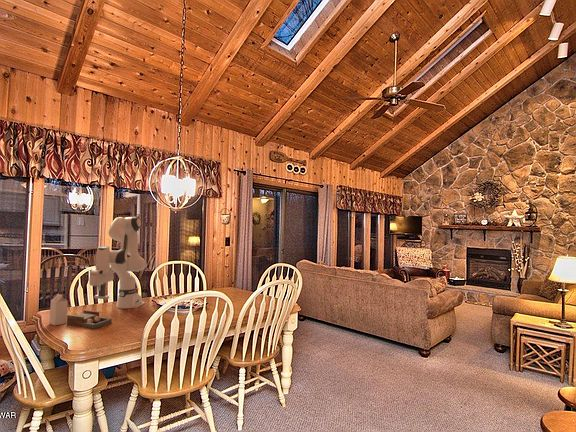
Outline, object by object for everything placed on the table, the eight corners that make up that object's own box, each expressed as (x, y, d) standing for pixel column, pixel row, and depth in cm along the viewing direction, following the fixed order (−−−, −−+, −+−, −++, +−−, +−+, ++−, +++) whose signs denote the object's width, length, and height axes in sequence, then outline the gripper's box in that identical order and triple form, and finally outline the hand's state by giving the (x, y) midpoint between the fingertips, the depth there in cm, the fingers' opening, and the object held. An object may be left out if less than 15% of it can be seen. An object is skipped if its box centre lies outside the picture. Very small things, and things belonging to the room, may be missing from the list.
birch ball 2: (102, 317, 230) (100, 322, 231) (98, 314, 231) (95, 318, 231) (98, 319, 226) (95, 324, 227) (93, 316, 227) (91, 320, 227)
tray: (98, 321, 233) (99, 317, 233) (111, 323, 231) (111, 318, 231) (81, 327, 220) (82, 322, 220) (94, 329, 217) (95, 324, 217)
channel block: (84, 319, 236) (84, 310, 236) (98, 321, 233) (99, 311, 233) (66, 325, 223) (67, 315, 223) (81, 327, 220) (82, 317, 220)
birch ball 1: (95, 320, 224) (92, 325, 224) (91, 316, 225) (88, 321, 225) (90, 321, 220) (87, 326, 220) (87, 317, 221) (83, 322, 222)
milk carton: (61, 321, 230) (62, 292, 231) (66, 323, 227) (68, 294, 227) (49, 323, 224) (50, 294, 225) (54, 325, 221) (56, 296, 221)
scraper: (93, 298, 239) (94, 284, 239) (96, 297, 242) (97, 283, 242) (106, 299, 238) (106, 285, 237) (109, 298, 241) (109, 284, 240)
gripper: (108, 267, 250) (107, 286, 251) (87, 271, 230) (87, 292, 230) (116, 267, 249) (115, 286, 250) (96, 272, 229) (95, 293, 229)
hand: (101, 289), depth 240 cm, fingers closed on scraper, 3 cm apart
